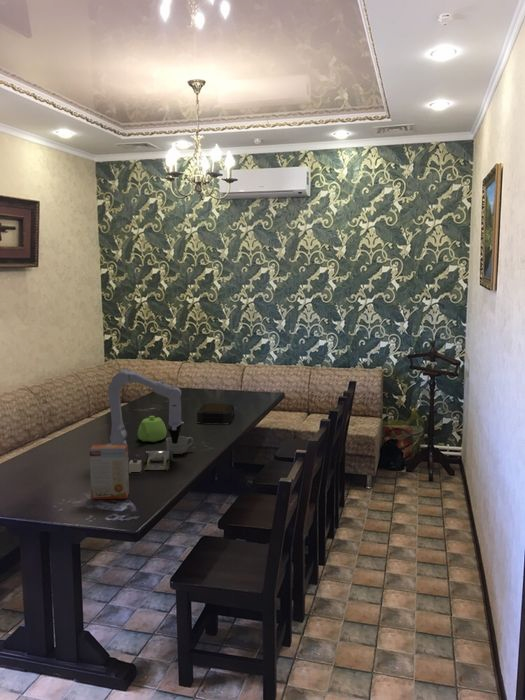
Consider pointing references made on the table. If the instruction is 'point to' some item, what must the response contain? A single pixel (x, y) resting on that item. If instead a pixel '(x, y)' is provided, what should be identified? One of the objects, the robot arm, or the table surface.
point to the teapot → (152, 429)
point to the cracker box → (109, 471)
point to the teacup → (178, 444)
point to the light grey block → (135, 465)
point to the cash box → (215, 413)
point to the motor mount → (158, 459)
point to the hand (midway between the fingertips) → (175, 441)
